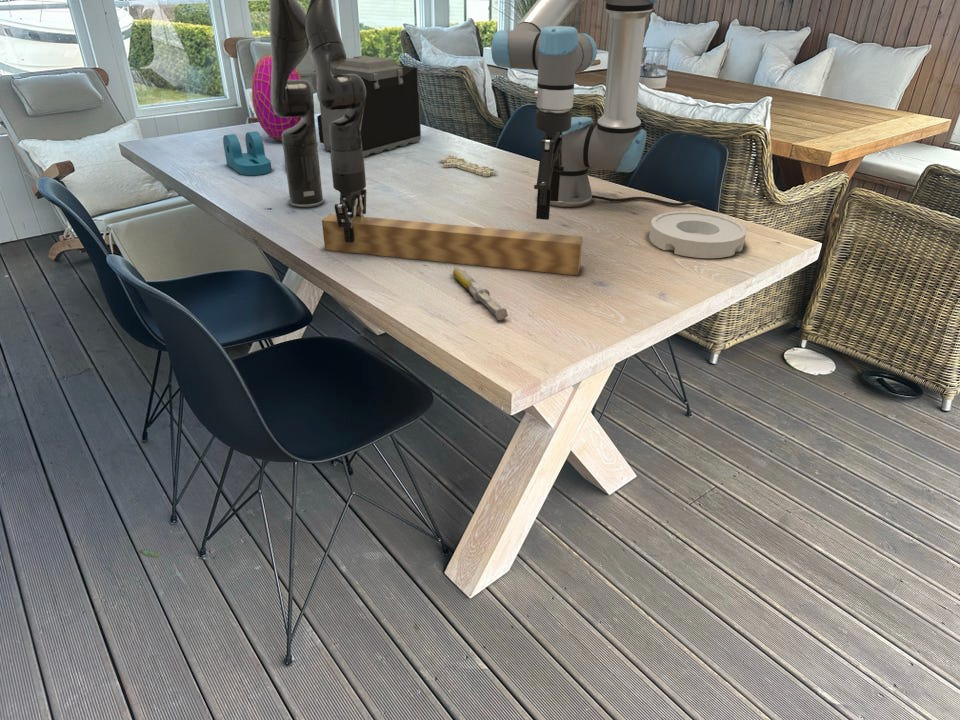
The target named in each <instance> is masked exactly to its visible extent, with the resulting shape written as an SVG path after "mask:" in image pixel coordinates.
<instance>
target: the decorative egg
mask: <svg viewBox="0 0 960 720" xmlns="http://www.w3.org/2000/svg"><path fill="white" fill-rule="evenodd" d="M253 70H254V71H253V73H252V77H251V101H252V107H253V110H254V114H255V116H256V118H257V121H258V123H259V125H260V127H261V128H262V130H263V131H264V133H266V135H267V136H268V137H270V138H271V139H273V140H275V141H281V142H282V133H283V132H284V131H285V130H287V129H289V128H291V127H293V126H295V125H296V124H297V123H298V122H299V121H300V120H301V117H288V118H284V117H278V116H277V115H276V114H275V113H274V111H273V108H272V105H271V72H272V56H271V54H268V55H265V56H262V57H261V58H260V59H259V60H258V61H257V62H256V65H255V68H254V69H253ZM288 80H302V77H301V75H300V73H299V71H298V69H297V67H296V68H295V69H294V70H293V71H292V73H291V74H290V76H289V78H288Z"/></svg>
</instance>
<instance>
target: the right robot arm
mask: <svg viewBox="0 0 960 720" xmlns="http://www.w3.org/2000/svg"><path fill="white" fill-rule="evenodd" d="M604 1H605V8H604V9H605V11H606V13H608V15H609V16H610V25H609V38H608V52H607V65H606V79H605V92H604V93H605V94H604V105H603V106H604V108H603V114H602V115H601V116H600V117H599V118H598V119H597V124H594V121H593V118H592V117H588V116H573V112H572V111H571V110H572V109H573V108H574V95H575V78H576V74H579V73H583V72H584V71H586V70H587V69H589V68H591V66H592V65H593V64H594V63H595V61H596V58H597V55H598V47H597V44H596V41H595V40H594V38H593V37H592V36H591V35H589V34H588V33H584V32H579V31H578V29H577V28H576V27H573V26H567V25H562V23H563V22H564V21H565V19H566V18H567V17H568V16H569V14H570V13H571V12H572V10H573V9H574V8H576V7H579V6H580V5H582V4H583V3H584V2H585V0H536V2H534V4H533V5H532V6H531V8H530V9H528V11H527V12H526V14H525V15H524V16H523V17H522V19H521V20H520V21H519V22H518V23H517V25H516V26H515V27H514V28H513V29H512V30H511V29H508V28H507V29H500V30H497V31H496V32H495V33H494V35H493V38H492V39H491V40H492V41H491V45H490V46H491V47H490V52H491V58H492V61H493V63H494V65H495V66H497V67H499V68H500V67H501V68H505V69H506V68H507V69H509V70H511V69H515V70H516V69H517V70H530V71H537V84H536V86H537V89H536V90H535V91H534V92H533V96H534V97H537V98H536V107H537V108H538V109H536V111H535V120H534V127H535V129H536V130H538V131H539V132H540V131H541V132H544V136H543V138H541V141H540V155H539V163H538V172H537V178H536V184H534V185H533V189H534V190H537V194H536V195H537V196H536V212H535V219H536V220H543V221H544V220H545V221H549V220H550V212H551V206H553V207H558V208H559V207H560V208H580V207H584V206H588V205H589V204H591V203H592V199H595V200H602V201H606V202H615V203H616V202H618V203H619V202H627V201H650V202H653V203H657V204H661V205H662V204H663V205H666V206H671V207H681V206H682V207H683V206H686V205H691V204H697V205H698V206H699V207H704V206H705V205H704V204H703V203H702V202H701V201H699V200H697V199H691V200H688V201H682V202H671V201H666V200H663V199H658V198H653V197H647V196H631V197H630V196H629V197H622V198H611V197H606V196H601V195H595V194H593V193H592V188H591V184H590V179H589V169H597V170H604V171H609V172H610V171H611V172H616V173H631V172H633V171H635V170H636V168H637V167H638V165H639V163H640V162H641V159H642V157H643V153H644V151H645V148H646V147H645V146H646V143H647V130H645V129H644V128H641V126H642V121H641V119H640V118H639V117H638V115H637V109H638V108H637V107H638V98H639V89H640V79H641V68H642V60H643V59H642V58H643V50H644V41H645V40H644V39H645V29H646V20H647V17H648V15H649V14H650V13H651V12H652V11H653V10H654V4H656V3H658V2H659V1H660V0H604Z"/></svg>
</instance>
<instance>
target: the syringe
mask: <svg viewBox="0 0 960 720" xmlns="http://www.w3.org/2000/svg"><path fill="white" fill-rule="evenodd" d="M452 274H453V277H454V279H455V280H457V281H458V282H459V283H460V285H462V287H464V289H466V290H467V291H468V293H470V295H471V296H472V298H473V300H474V302H477V303H478V302H480V303H482V304H483V305H484V306H485V307H486V308H487V309H488V310H489V311H490V312H491V313H492V314H493V315H494V316H495V317H496V320H497V321H503V320H504V319H506V318H507V317H509V314H508V310H507V308H506V307H502V306H501V305H500V303H498V302H497V301H496V300H494V299H493V298H492V297H491V296H490V295H491V293H490V290H488V289H486V288H483V287H482V286H481V285H480V284H479V283H478V282H477V281H476V280H474V278H473V277H471V275H469V274H468V273H467V272H466V270H465V269H464V268H463V267H462V266H456V267H454V268H453V271H452Z"/></svg>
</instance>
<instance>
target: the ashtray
mask: <svg viewBox="0 0 960 720" xmlns="http://www.w3.org/2000/svg"><path fill="white" fill-rule="evenodd" d="M746 236H747V230H746V227H745V226H744V225H743V224H741V223H740V222H738V221H737V220H734V219H732V218H730V217H726V216H724V215H719V214H714V213H709V212H702V211H691V210H690V211H689V210H685V211H683V210H681V211H679V210H677V211H670V212H664V213H660V214H657V215H656V216H653V218H652V219H651V221H650V226H649V235H648V237H649V238H648V239H649V241H650V242H651V244H652V245H654V246H655V247H657V248H658V249H660V250H663V251H673V252H674V255H677V256H682V257H688V258H689V257H690V258H697V259H721V258H726V257H727V258H729V257H732V256H734V255H735V254H736V253H740V252H742V251H743V248H744V245H745V239H746Z"/></svg>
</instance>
